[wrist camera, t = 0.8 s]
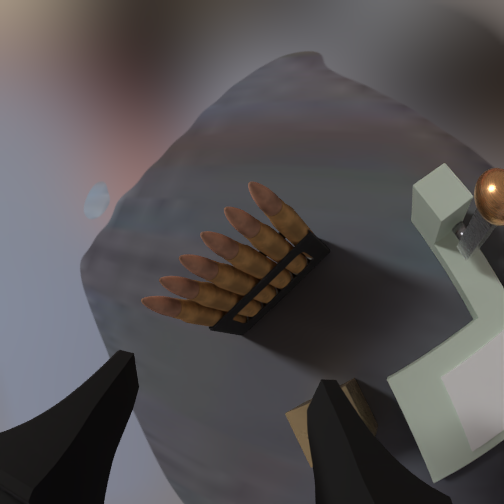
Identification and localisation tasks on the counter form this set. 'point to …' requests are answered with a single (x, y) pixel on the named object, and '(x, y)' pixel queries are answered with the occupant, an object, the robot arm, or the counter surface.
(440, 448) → the frame
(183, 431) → the counter surface
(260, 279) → the ammunition clip
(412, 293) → the counter surface
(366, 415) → the housing
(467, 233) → the lever
